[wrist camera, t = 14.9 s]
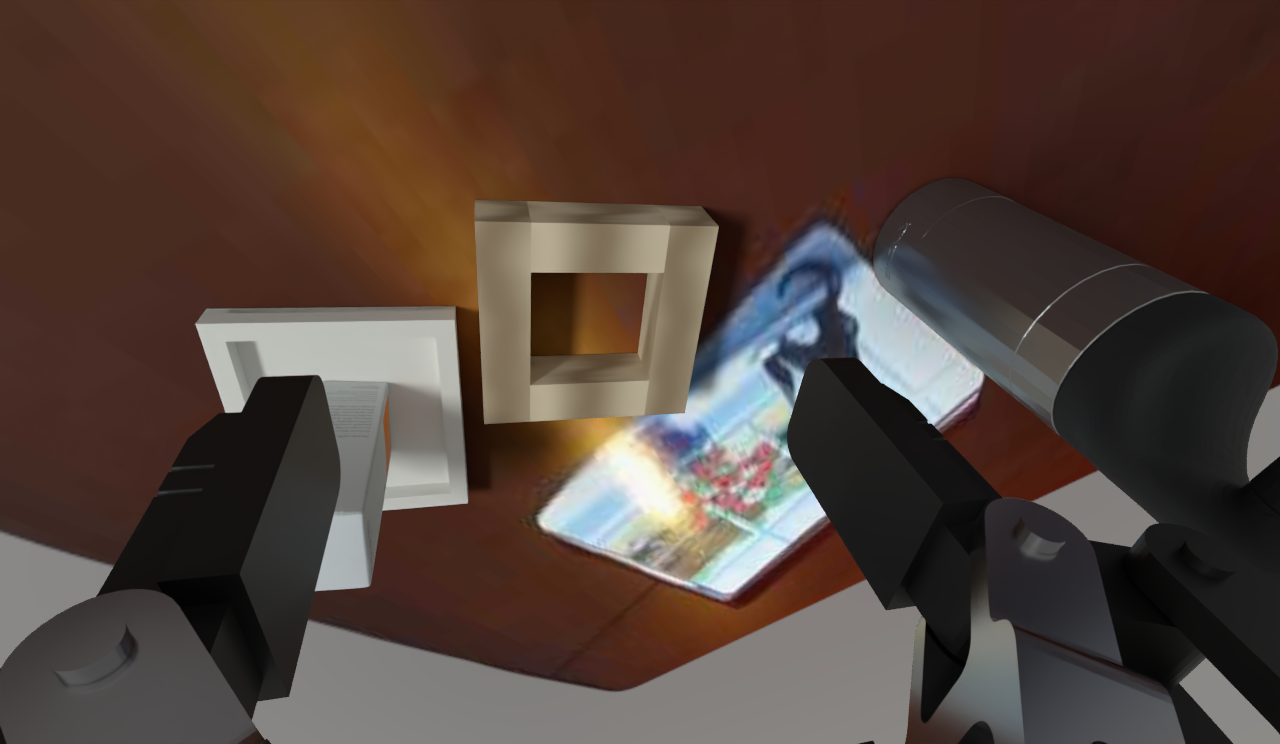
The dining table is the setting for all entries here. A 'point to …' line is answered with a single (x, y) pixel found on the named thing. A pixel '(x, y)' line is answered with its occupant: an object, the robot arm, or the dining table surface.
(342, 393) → the skincare box
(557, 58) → the dining table surface
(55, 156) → the dining table surface
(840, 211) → the dining table surface
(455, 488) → the grey tray
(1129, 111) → the dining table surface
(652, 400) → the frame
